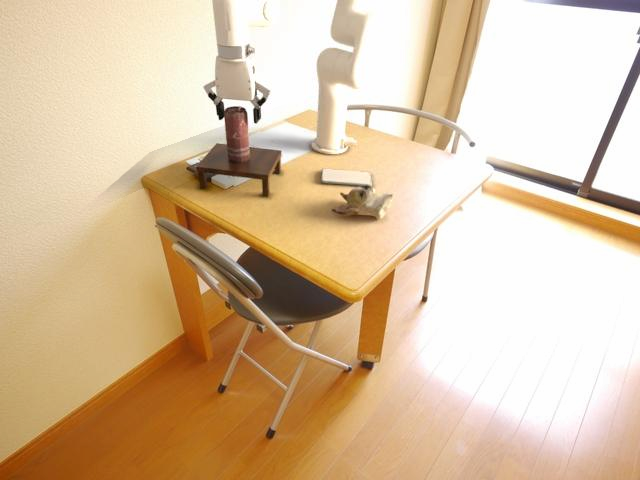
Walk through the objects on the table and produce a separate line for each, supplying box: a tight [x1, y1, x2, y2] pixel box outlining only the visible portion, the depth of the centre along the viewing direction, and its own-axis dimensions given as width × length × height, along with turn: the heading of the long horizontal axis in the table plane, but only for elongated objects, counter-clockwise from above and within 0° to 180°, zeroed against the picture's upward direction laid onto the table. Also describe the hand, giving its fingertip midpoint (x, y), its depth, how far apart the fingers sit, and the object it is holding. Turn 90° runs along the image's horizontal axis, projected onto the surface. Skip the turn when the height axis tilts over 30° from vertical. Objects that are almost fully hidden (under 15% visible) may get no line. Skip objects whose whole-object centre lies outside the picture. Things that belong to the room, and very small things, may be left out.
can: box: [223, 105, 250, 163], centre depth 111 cm, size 6×6×14 cm
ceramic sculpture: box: [330, 185, 394, 221], centre depth 106 cm, size 11×9×15 cm
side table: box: [195, 142, 282, 198], centre depth 117 cm, size 20×16×7 cm
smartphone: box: [320, 168, 373, 187], centre depth 123 cm, size 8×1×15 cm
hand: (239, 120), depth 109 cm, fingers open, 9 cm apart
